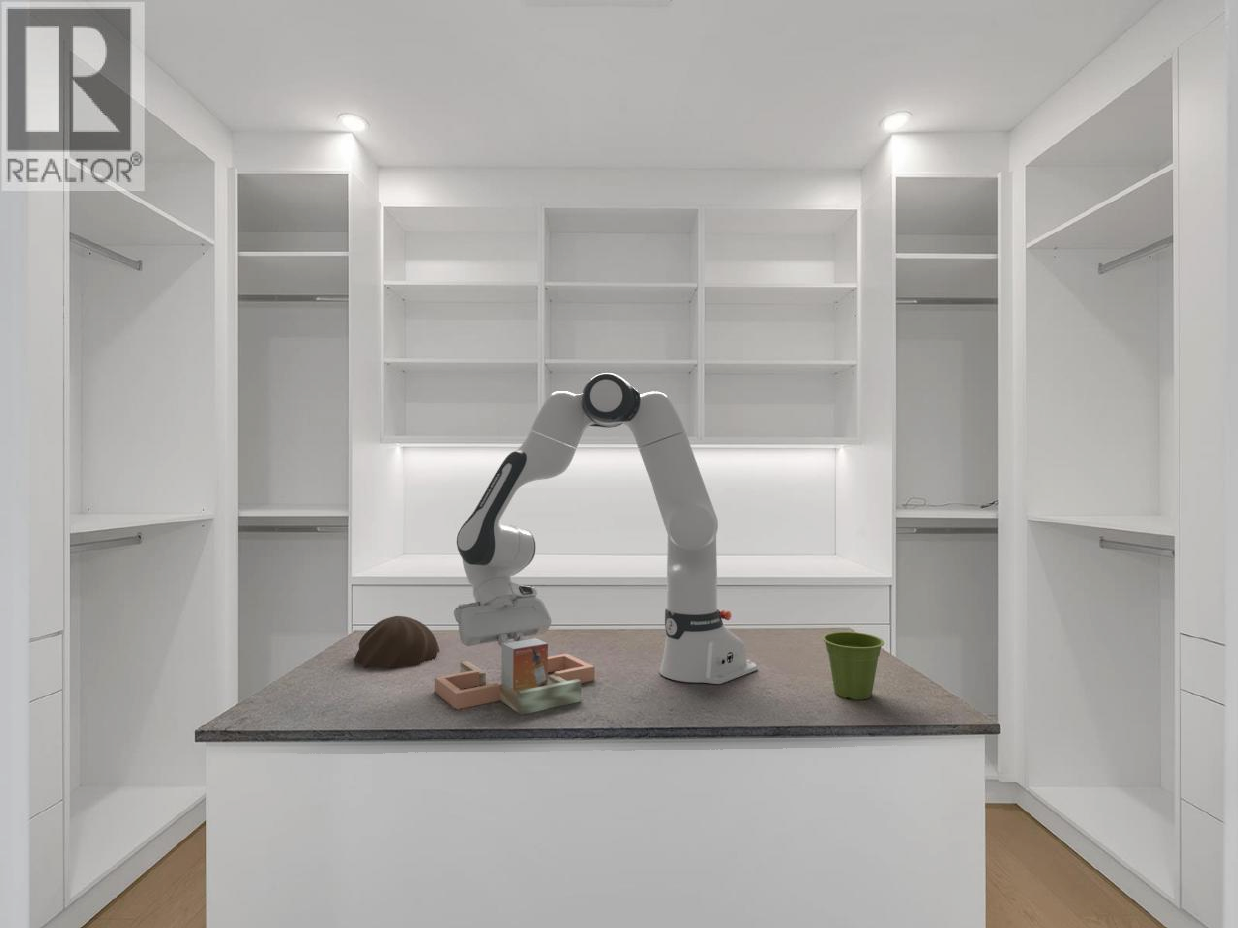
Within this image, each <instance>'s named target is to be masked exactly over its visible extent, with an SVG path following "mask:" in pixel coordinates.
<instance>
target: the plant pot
mask: <svg viewBox="0 0 1238 928" xmlns="http://www.w3.org/2000/svg"><path fill="white" fill-rule="evenodd" d="M822 641H823V642H824V643H825V647H826V652H827V654H828V659H829V667H830V673H831V678H832V685H833V692H834V693H835V695H837V696H839V697H840V698H845V699H846V698H850V699H852V700H855V701H859V700H866V699H869V698H870V697H871V696H873V695H872V694H873V689H874V685H875V678H876V673H877V666H878V660H879V657H880V656H881V649H882V646H884V645H885V641H884V640H883V639H882V638H881V637H880V636H879V637H878V636H876V635H872V634H868V633H863V632H857V631H856V632H855V631H837V632H836V631H834V632H830V633H829V632H828V633H826V634H824V635H823V636H822Z"/></svg>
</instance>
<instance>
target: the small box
mask: <svg viewBox="0 0 1238 928" xmlns="http://www.w3.org/2000/svg"><path fill="white" fill-rule="evenodd" d="M500 656H501V665H500V666H501V667H500V668H501V674H500V675H501V676H500V678H501V679H500V680H501V684H500V685H503V684H504V685H506V686H507V687H509V688H511V689H512V690H514V691H515V692H517V693H518V691H522V690H527V689H532V688H537V687H541V686H546V685H548V675H549V672H548V657H549V644H548V643H547V642H545V641H543V640H541V639H539V638H537V637H533V638H530V639H523V640H522V641H516V642H515V641H512V642H509V643H502V647H501V655H500Z"/></svg>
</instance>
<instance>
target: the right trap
mask: <svg viewBox="0 0 1238 928" xmlns="http://www.w3.org/2000/svg"><path fill="white" fill-rule="evenodd" d="M553 672H554V673H553ZM548 673H553V674H555V675H557V676H559V677H561V678H562V679H564V680H566V681H570V680H575V679H579V680H581V684H583V683H588V682H594V681H595V680H596V679H595V678H596V677H595V665H592V664H590V663H588V662H586V661H583V660H582V659H579V658H577V657H575V656H573V655H571V654H569V653H561V654H556V655H551V656H548ZM593 680H594V681H593Z"/></svg>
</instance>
